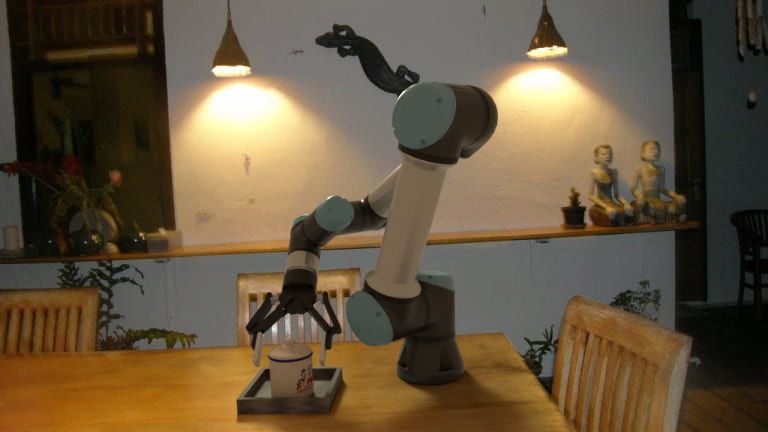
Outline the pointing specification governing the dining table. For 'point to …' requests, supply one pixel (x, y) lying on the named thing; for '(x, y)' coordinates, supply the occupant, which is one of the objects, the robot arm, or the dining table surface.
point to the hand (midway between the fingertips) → (288, 364)
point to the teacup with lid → (291, 370)
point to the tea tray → (262, 402)
